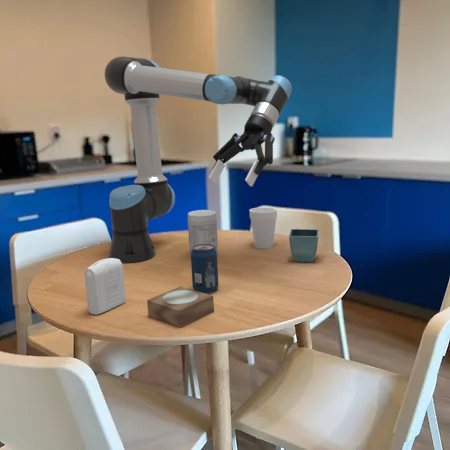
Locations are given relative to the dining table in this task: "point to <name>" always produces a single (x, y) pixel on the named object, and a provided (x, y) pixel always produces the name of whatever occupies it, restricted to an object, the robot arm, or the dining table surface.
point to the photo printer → (104, 285)
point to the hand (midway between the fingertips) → (229, 182)
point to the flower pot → (303, 244)
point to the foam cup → (263, 226)
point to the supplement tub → (202, 228)
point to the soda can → (204, 268)
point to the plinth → (180, 306)
